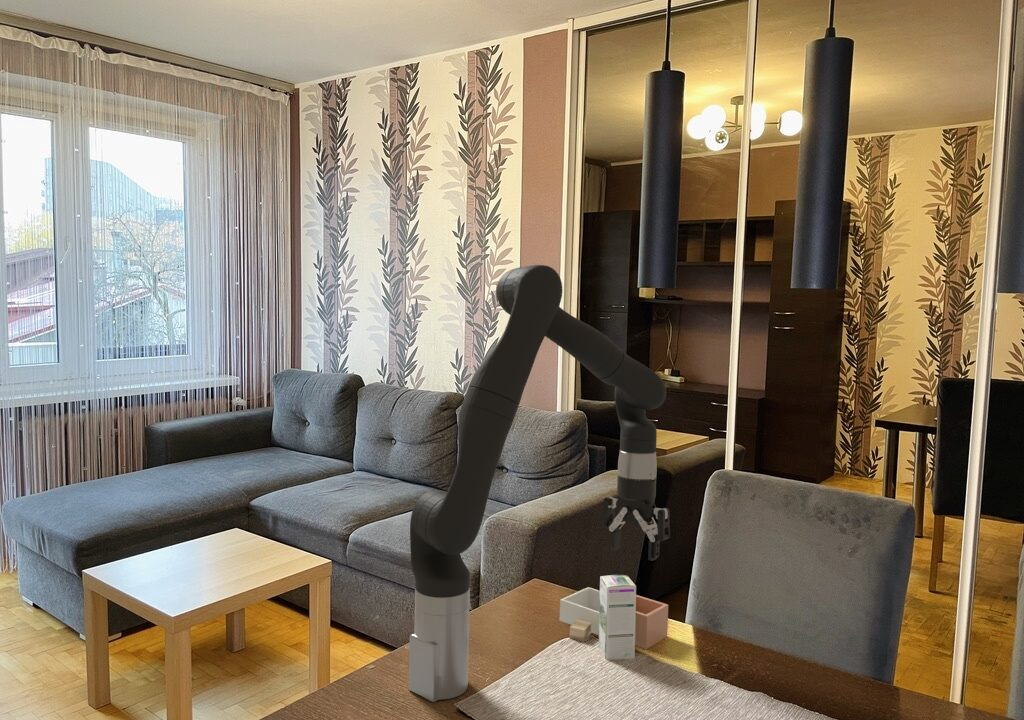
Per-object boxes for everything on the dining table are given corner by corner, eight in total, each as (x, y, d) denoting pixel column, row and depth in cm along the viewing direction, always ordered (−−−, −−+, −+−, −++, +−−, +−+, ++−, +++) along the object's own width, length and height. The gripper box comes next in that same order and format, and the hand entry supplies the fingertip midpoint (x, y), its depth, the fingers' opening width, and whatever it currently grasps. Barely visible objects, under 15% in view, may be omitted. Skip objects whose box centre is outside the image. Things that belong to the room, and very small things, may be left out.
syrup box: (635, 661, 137) (638, 585, 136) (604, 663, 136) (607, 585, 135) (626, 647, 143) (629, 574, 142) (596, 649, 142) (599, 574, 141)
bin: (599, 638, 147) (600, 613, 146) (559, 623, 153) (560, 599, 153) (626, 623, 154) (627, 599, 154) (587, 609, 161) (588, 587, 161)
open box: (645, 652, 141) (647, 616, 141) (610, 639, 146) (611, 604, 146) (667, 639, 147) (668, 604, 147) (632, 627, 152) (633, 594, 152)
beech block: (583, 645, 144) (584, 630, 144) (569, 641, 145) (569, 627, 145) (590, 637, 147) (591, 622, 147) (576, 634, 149) (577, 619, 148)
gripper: (596, 470, 148) (593, 550, 149) (658, 482, 138) (655, 568, 139) (617, 465, 153) (614, 542, 154) (678, 476, 144) (675, 559, 145)
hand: (633, 554), depth 147 cm, fingers open, 8 cm apart
